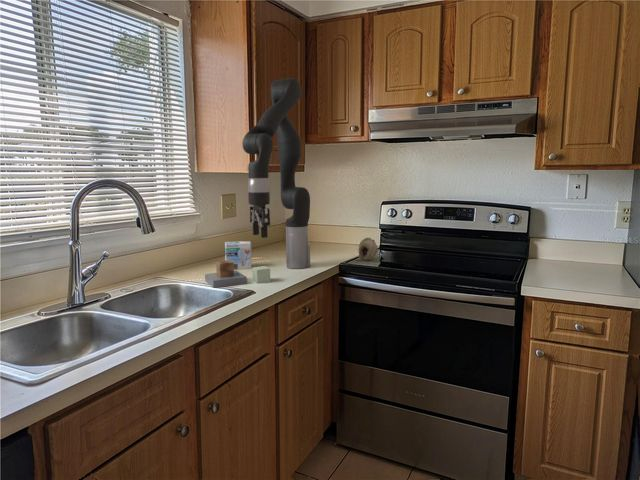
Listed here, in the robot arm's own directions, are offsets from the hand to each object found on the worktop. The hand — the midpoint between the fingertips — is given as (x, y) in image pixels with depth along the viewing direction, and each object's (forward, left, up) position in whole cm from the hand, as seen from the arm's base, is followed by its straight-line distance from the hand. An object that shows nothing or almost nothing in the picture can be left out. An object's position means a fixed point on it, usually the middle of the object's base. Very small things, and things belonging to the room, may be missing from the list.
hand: (260, 236), depth 163 cm
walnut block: (+12, -5, -14) cm, 19 cm away
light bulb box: (0, -27, -17) cm, 32 cm away
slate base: (+12, -5, -17) cm, 21 cm away
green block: (0, 0, -17) cm, 17 cm away
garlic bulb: (-56, -14, -17) cm, 60 cm away
